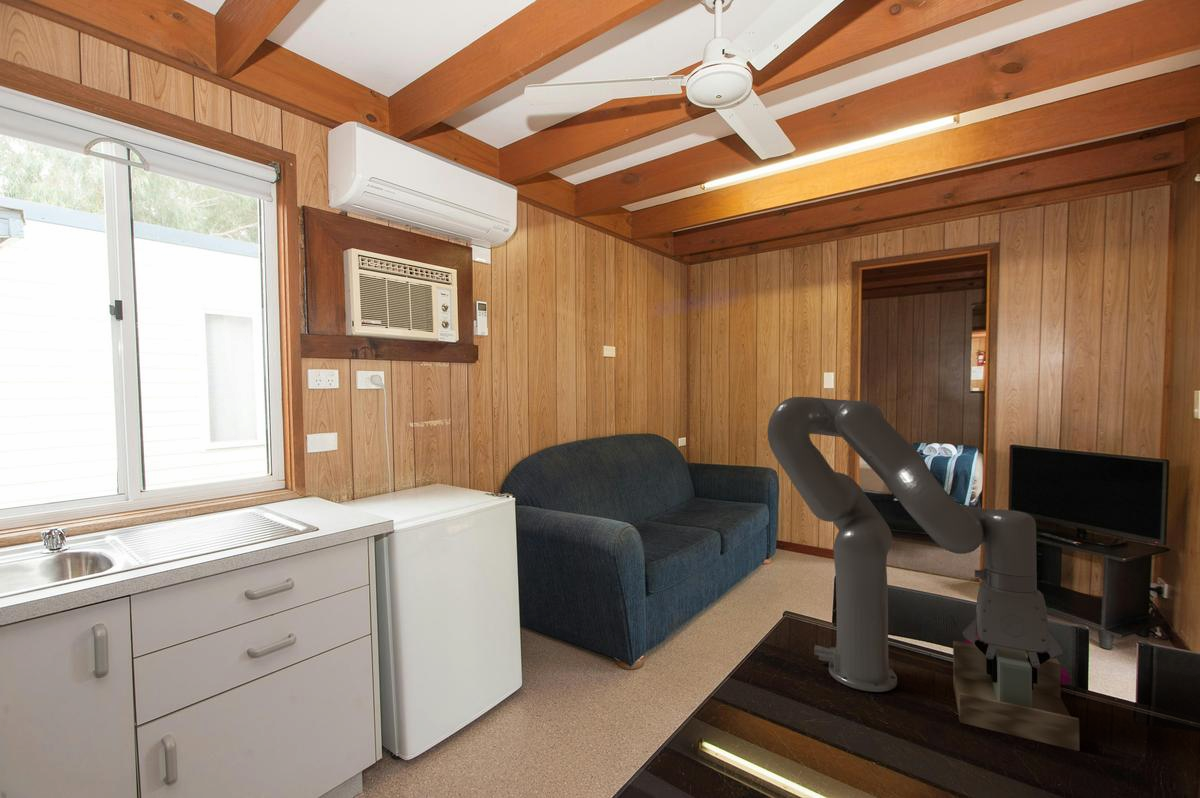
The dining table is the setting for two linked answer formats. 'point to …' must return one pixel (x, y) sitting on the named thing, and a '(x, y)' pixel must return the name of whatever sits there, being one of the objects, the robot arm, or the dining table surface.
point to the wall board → (985, 711)
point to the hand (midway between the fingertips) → (1011, 681)
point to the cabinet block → (1013, 677)
